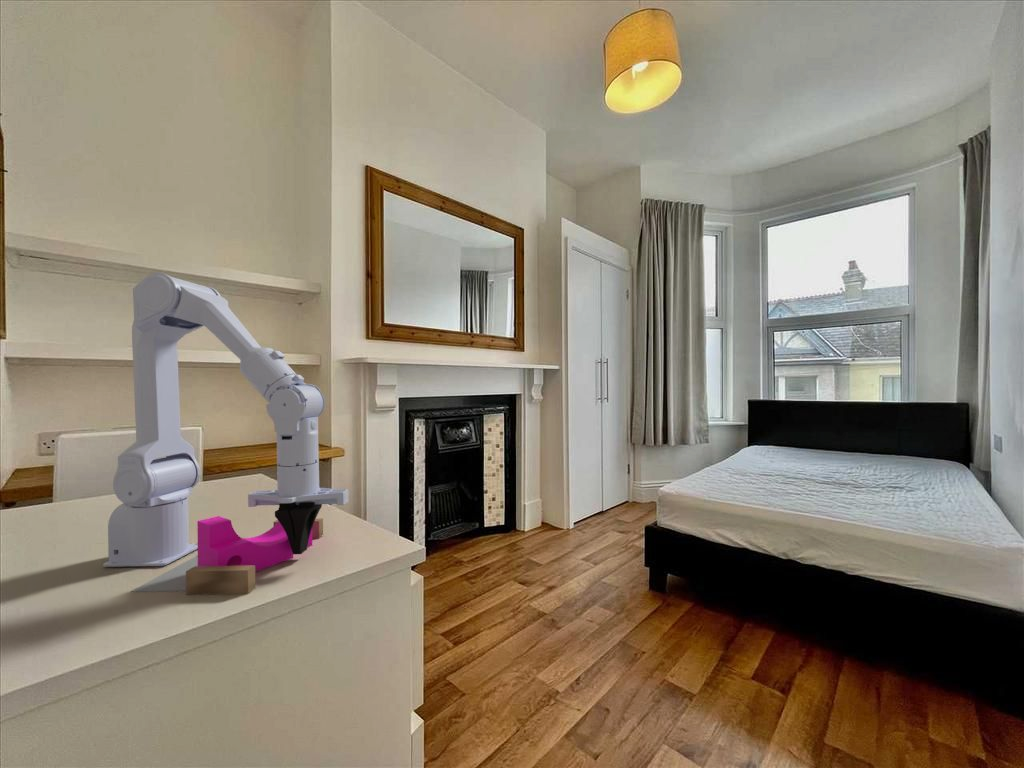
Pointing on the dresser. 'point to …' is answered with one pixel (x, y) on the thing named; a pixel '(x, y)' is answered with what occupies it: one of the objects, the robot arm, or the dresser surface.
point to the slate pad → (169, 579)
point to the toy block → (241, 545)
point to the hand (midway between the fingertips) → (299, 551)
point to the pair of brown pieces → (229, 574)
